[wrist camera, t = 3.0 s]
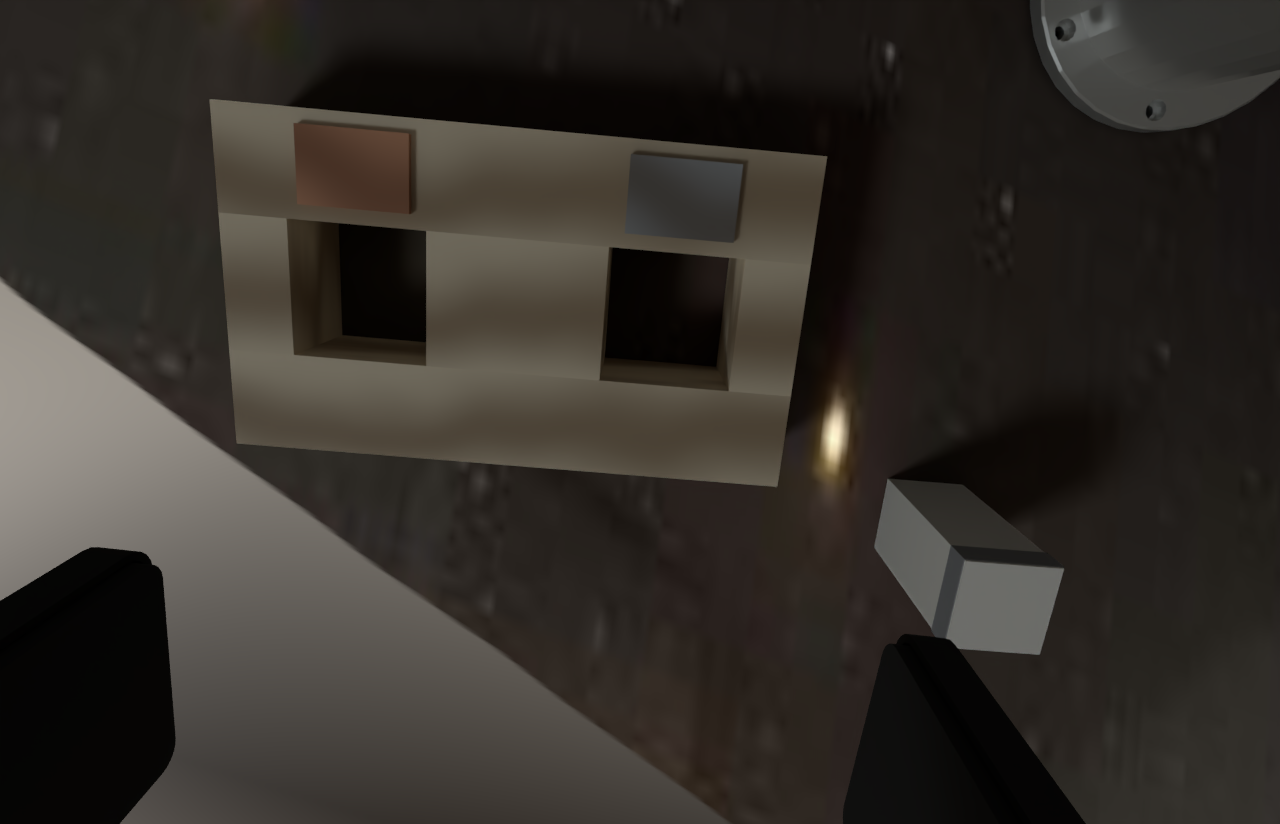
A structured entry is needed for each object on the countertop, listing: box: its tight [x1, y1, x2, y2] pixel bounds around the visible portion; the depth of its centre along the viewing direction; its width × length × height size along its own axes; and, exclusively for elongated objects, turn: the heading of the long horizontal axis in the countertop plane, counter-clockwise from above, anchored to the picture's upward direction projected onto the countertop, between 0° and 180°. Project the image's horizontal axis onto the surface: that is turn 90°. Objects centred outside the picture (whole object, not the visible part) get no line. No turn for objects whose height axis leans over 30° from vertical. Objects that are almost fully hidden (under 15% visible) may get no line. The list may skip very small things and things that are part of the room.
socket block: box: [210, 99, 827, 487], centre depth 31 cm, size 14×24×5 cm, turn 85°
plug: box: [874, 479, 1064, 655], centre depth 33 cm, size 4×4×9 cm
